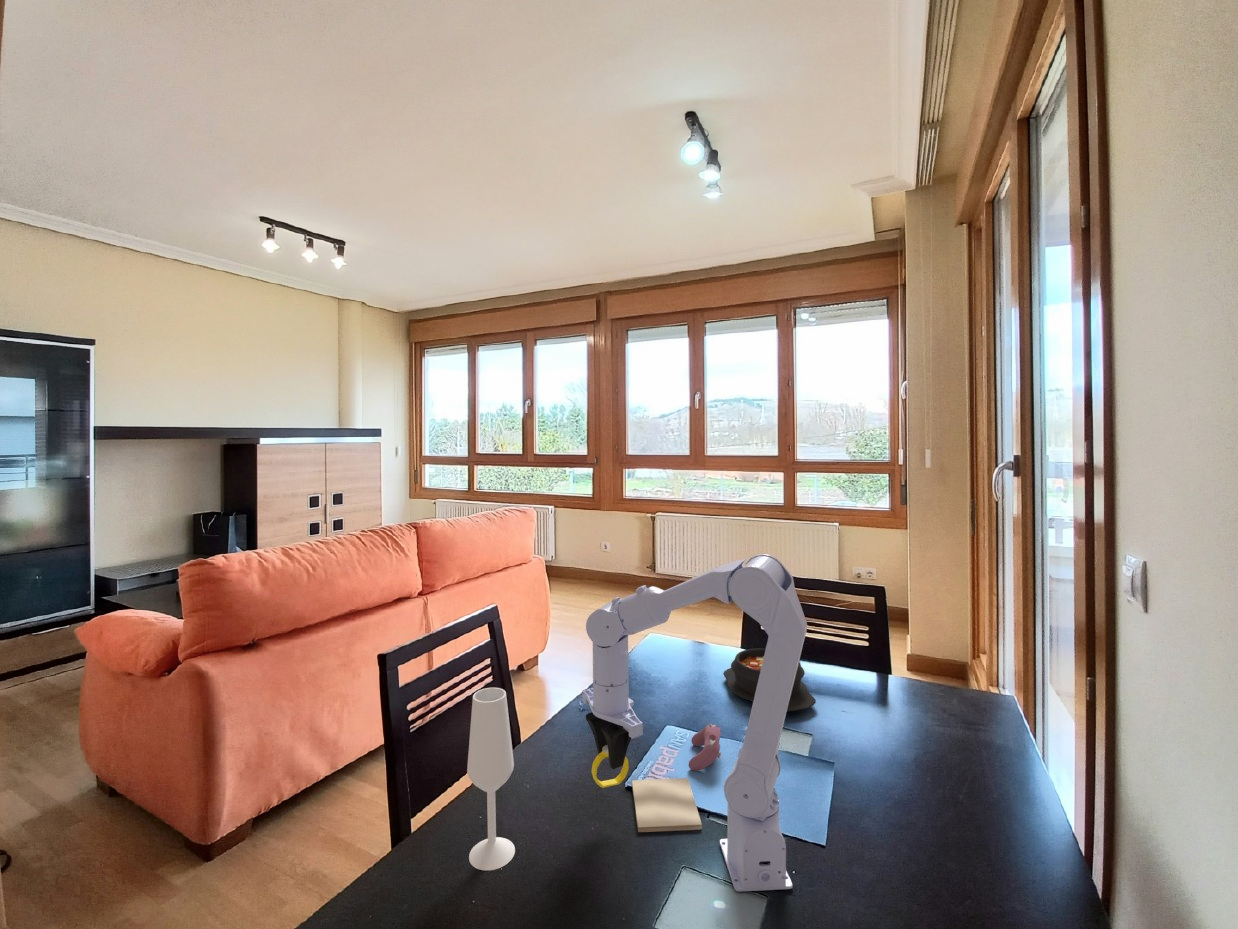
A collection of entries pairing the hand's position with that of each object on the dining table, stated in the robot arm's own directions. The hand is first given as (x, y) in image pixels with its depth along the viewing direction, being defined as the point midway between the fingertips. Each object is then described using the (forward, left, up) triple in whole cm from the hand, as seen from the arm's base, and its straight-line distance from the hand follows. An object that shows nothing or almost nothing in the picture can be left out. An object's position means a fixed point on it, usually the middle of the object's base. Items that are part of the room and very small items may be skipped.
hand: (611, 761), depth 91 cm
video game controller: (+15, -19, -9) cm, 26 cm away
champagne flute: (-7, +18, -9) cm, 21 cm away
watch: (0, 0, -4) cm, 4 cm away
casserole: (+41, -39, -10) cm, 57 cm away
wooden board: (+2, -9, -9) cm, 13 cm away
